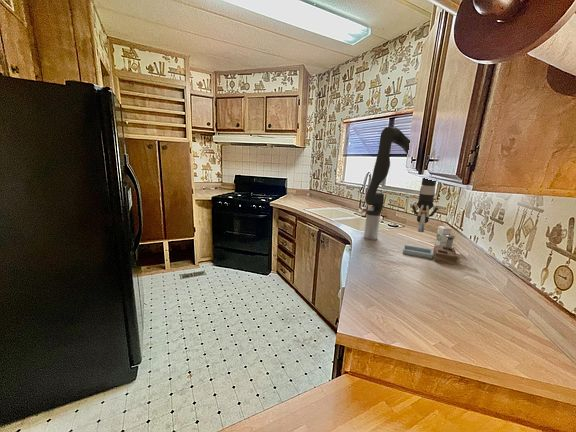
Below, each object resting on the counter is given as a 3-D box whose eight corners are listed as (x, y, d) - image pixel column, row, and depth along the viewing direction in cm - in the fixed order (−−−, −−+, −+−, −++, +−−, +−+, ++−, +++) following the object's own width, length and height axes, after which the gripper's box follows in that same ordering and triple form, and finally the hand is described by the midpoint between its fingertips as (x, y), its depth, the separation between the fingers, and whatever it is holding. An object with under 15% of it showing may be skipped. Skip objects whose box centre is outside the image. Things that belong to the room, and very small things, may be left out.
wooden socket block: (433, 252, 152) (434, 244, 151) (452, 255, 148) (453, 247, 146) (434, 261, 138) (436, 253, 137) (455, 265, 134) (457, 256, 133)
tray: (403, 248, 157) (404, 244, 156) (431, 253, 150) (431, 249, 150) (402, 253, 148) (403, 249, 147) (431, 259, 141) (432, 255, 141)
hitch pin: (416, 230, 149) (420, 209, 146) (424, 231, 147) (428, 209, 144) (416, 231, 145) (420, 210, 142) (424, 232, 143) (428, 211, 140)
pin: (441, 254, 148) (446, 234, 145) (449, 256, 146) (454, 235, 143) (442, 257, 145) (446, 236, 142) (450, 258, 143) (455, 237, 140)
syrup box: (448, 250, 156) (452, 228, 153) (439, 249, 157) (443, 228, 153) (443, 247, 162) (447, 226, 159) (434, 246, 162) (438, 225, 159)
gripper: (440, 193, 141) (435, 222, 145) (413, 191, 147) (409, 219, 151) (441, 195, 134) (436, 225, 138) (413, 192, 140) (408, 221, 144)
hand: (422, 222), depth 145 cm, fingers closed on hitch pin, 3 cm apart
